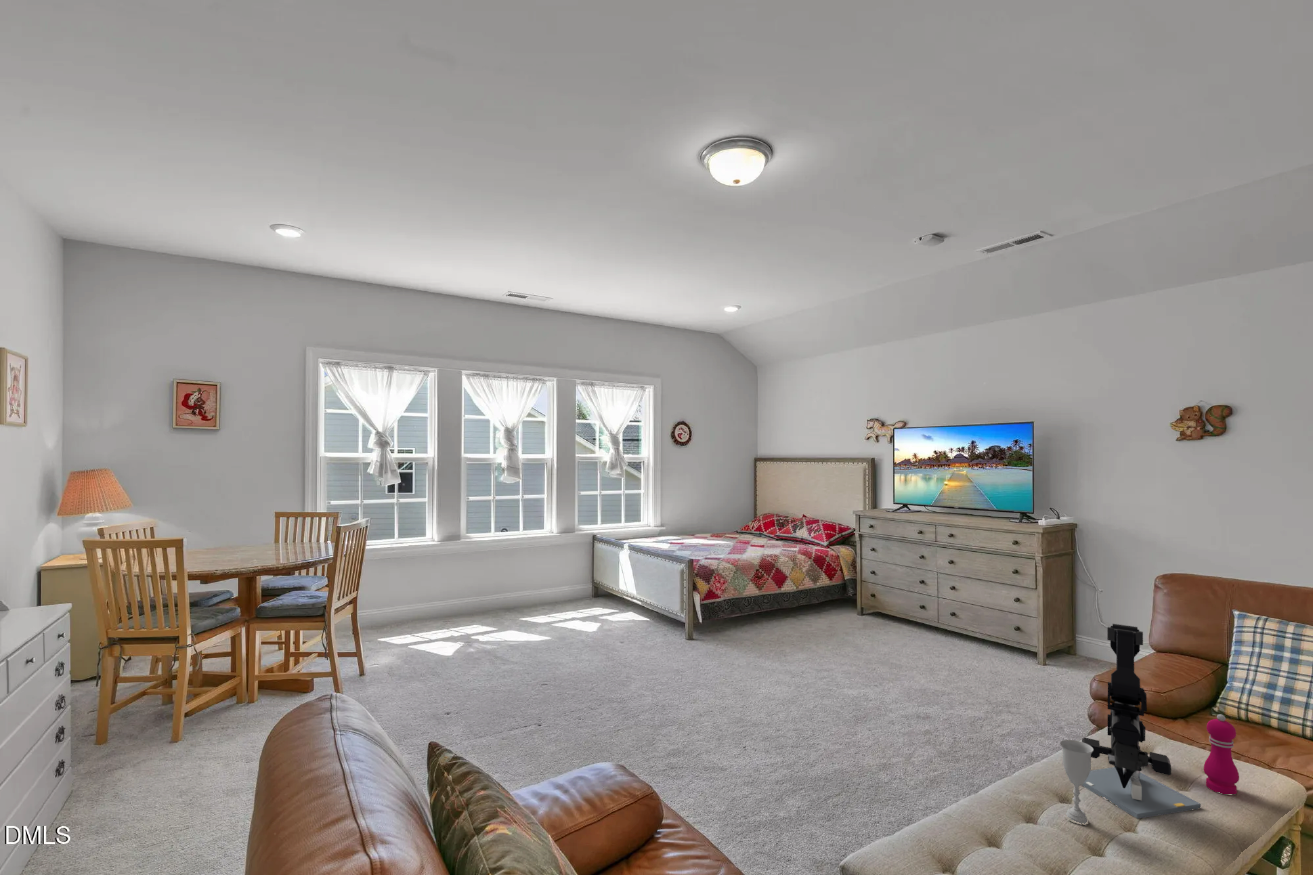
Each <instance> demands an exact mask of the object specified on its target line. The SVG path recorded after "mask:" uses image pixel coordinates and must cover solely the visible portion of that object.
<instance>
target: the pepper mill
mask: <svg viewBox="0 0 1313 875" xmlns="http://www.w3.org/2000/svg"><path fill="white" fill-rule="evenodd" d="M1206 731H1207V732H1208V734H1209V735H1208V742H1209V743H1210V745H1211V746H1210V753H1209V755H1208V756H1207V758H1206V760H1205V761H1204V764H1203V772H1204V774H1205V775H1206V776H1207V777H1206V778H1205V786H1206V787H1207V789H1209V790H1211V791H1212V790H1213V791H1212V792H1215V793H1217V792H1220V793H1222V794H1221V795H1224V794H1236V793H1237V794H1238V786H1237V785H1236V784H1237V783H1238V782H1239V781H1240V773H1239V771H1238V768H1237V766H1236V764H1235V762H1234V760H1233V757H1232V749H1233V748H1234V739H1235V738H1236V737H1237V730H1236V728H1235V726H1234V725H1233V724H1232V723H1230V722H1229V721H1227V720H1226V717H1225V715H1223V714H1217V715H1216V718H1213V719H1210V720H1208V722H1207V723H1206ZM1220 793H1219V794H1220ZM1237 794H1236V795H1237Z"/></svg>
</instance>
